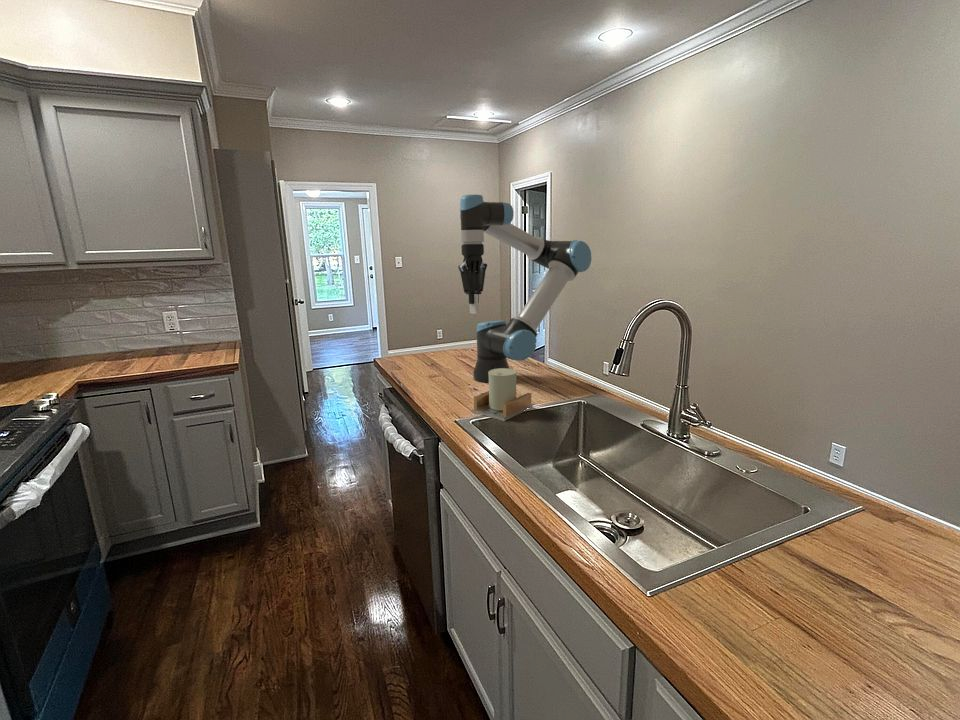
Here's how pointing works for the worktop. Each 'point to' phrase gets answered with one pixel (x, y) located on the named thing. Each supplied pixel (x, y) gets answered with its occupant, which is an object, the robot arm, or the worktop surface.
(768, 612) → the worktop surface
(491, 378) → the can
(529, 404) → the rail holder
